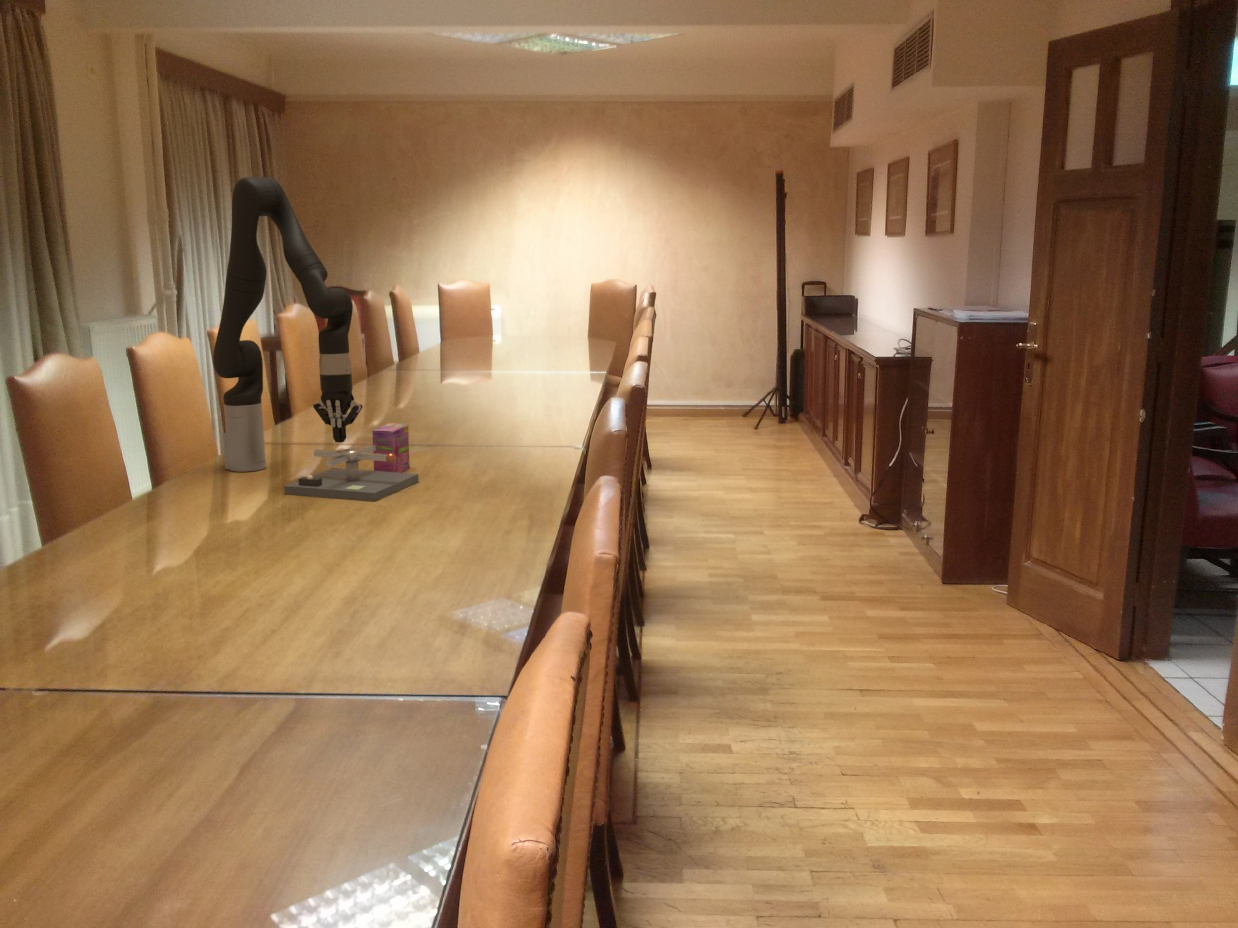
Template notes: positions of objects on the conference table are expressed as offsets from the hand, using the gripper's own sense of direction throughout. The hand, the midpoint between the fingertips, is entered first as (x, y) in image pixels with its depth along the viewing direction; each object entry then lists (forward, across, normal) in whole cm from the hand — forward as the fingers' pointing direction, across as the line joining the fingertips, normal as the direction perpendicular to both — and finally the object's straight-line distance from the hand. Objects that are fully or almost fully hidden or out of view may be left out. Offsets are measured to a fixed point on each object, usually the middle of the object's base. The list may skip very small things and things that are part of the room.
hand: (340, 441), depth 265 cm
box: (+10, +6, +14) cm, 18 cm away
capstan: (+3, +7, -5) cm, 9 cm away
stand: (+10, +6, -5) cm, 13 cm away
